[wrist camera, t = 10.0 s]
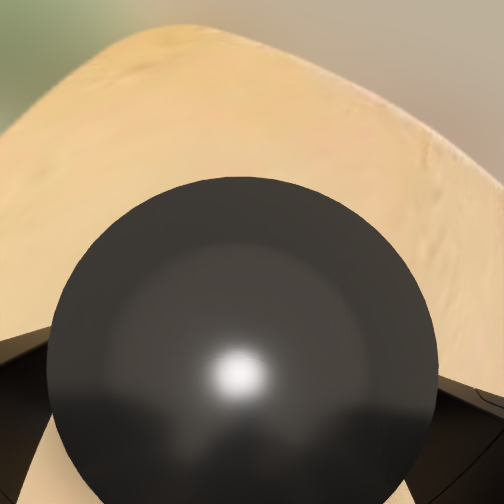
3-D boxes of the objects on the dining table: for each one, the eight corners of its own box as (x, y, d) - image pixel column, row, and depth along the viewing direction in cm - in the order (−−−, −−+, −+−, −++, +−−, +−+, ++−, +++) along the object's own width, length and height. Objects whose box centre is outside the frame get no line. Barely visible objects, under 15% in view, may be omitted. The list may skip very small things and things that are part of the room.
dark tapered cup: (282, 381, 16) (483, 358, 4) (201, 451, 14) (254, 613, 2) (211, 302, 17) (274, 122, 5) (127, 367, 15) (-24, 320, 3)
